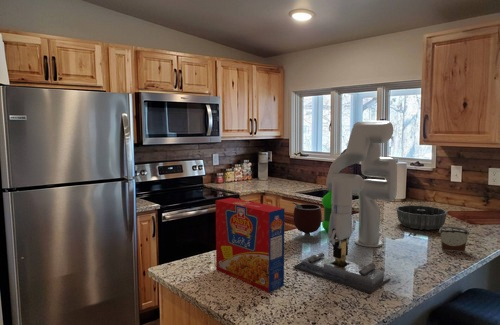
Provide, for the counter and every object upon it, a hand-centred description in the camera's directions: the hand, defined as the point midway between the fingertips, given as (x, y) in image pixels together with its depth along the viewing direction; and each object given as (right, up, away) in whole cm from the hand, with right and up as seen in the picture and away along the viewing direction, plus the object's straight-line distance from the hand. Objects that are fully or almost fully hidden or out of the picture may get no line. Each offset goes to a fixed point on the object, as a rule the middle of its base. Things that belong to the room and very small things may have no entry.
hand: (340, 255), depth 133 cm
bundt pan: (+63, -1, +67) cm, 92 cm away
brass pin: (0, -4, 0) cm, 4 cm away
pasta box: (-35, -8, -2) cm, 36 cm away
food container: (+59, -5, +29) cm, 66 cm away
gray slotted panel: (0, -7, +1) cm, 7 cm away
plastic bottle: (+10, -2, +57) cm, 58 cm away
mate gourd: (-6, -4, +42) cm, 43 cm away
